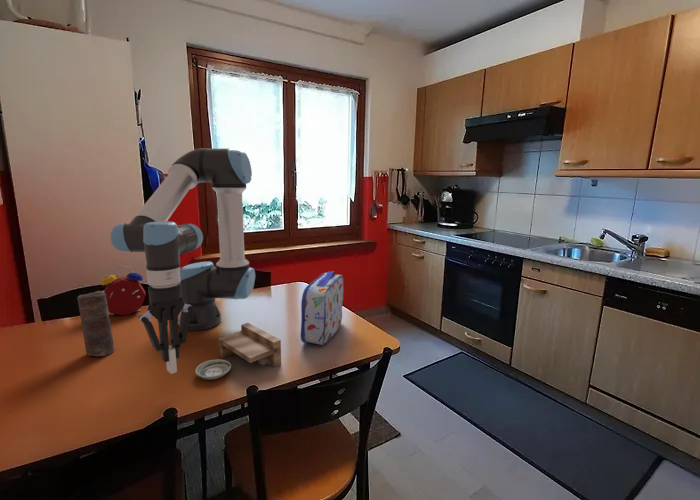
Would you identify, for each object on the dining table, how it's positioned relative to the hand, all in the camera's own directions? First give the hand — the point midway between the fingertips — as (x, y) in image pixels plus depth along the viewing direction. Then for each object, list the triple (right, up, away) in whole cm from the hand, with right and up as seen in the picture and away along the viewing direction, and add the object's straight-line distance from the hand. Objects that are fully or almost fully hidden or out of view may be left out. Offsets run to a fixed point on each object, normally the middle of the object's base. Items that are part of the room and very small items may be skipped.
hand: (171, 371), depth 96 cm
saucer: (+7, -5, +10) cm, 13 cm away
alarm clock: (-44, +6, +52) cm, 68 cm away
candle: (-33, -1, +21) cm, 38 cm away
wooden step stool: (+15, -3, +17) cm, 23 cm away
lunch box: (+37, +1, +38) cm, 53 cm away
